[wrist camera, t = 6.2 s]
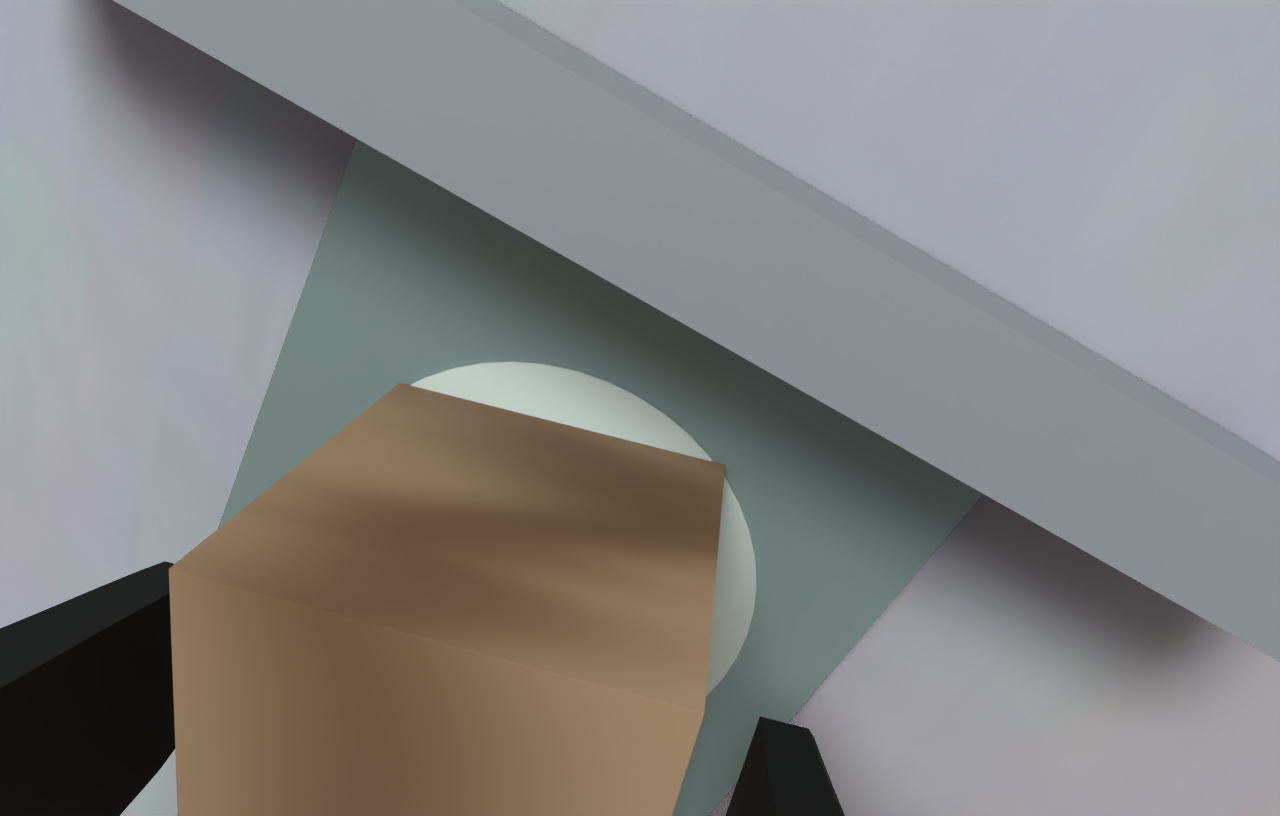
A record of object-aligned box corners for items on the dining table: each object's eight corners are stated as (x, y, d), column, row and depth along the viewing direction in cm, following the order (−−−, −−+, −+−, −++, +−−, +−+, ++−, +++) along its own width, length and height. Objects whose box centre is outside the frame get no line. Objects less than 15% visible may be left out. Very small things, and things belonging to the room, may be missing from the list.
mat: (981, 474, 11) (991, 489, 11) (656, 860, 15) (653, 884, 15) (373, 128, 11) (357, 129, 10) (194, 622, 15) (177, 639, 14)
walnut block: (725, 464, 11) (704, 713, 7) (652, 717, 13) (599, 1042, 9) (399, 382, 12) (168, 568, 7) (375, 643, 14) (182, 921, 9)
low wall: (1268, 455, 11) (1488, 608, 8) (1188, 534, 11) (1359, 707, 8) (72, -249, 10) (-273, -422, 6) (51, -120, 10) (-275, -220, 7)
